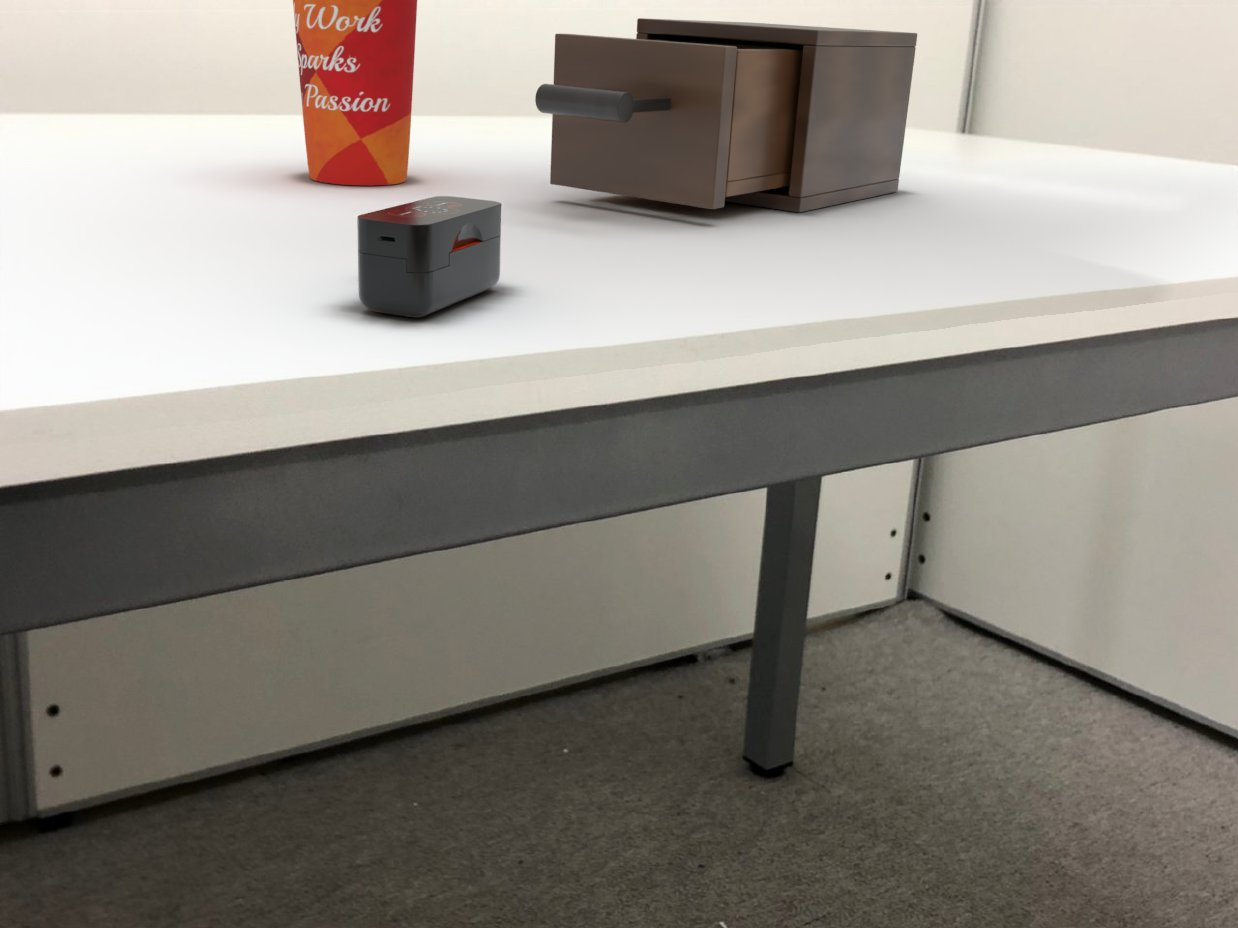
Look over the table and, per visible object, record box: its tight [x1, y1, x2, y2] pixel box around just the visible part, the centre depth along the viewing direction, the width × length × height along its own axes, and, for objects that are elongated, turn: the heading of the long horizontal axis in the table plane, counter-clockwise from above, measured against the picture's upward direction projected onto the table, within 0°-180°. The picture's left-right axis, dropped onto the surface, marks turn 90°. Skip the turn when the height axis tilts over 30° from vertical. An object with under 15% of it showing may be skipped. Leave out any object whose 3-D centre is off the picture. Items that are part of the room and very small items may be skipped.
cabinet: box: [635, 17, 918, 213], centre depth 77 cm, size 14×12×10 cm
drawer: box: [534, 33, 803, 210], centre depth 68 cm, size 17×10×8 cm, turn 145°
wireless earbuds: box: [356, 195, 502, 318], centre depth 46 cm, size 5×7×3 cm, turn 159°
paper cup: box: [292, 0, 418, 187], centre depth 71 cm, size 8×8×14 cm
